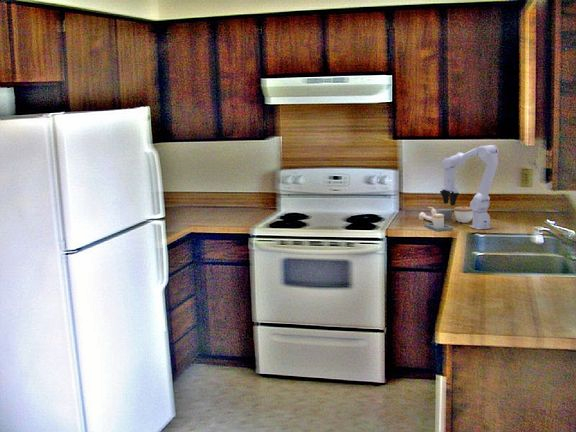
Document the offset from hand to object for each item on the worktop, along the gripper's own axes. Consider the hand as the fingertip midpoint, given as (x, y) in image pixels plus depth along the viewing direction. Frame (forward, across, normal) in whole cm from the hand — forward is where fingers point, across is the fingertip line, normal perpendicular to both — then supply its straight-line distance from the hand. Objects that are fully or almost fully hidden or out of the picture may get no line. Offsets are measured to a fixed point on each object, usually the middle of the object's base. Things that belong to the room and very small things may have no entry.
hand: (449, 204), depth 412 cm
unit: (+10, -9, +1) cm, 14 cm away
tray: (+10, +10, -12) cm, 19 cm away
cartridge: (+10, +10, -12) cm, 18 cm away
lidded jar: (+11, 0, +9) cm, 14 cm away
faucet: (+11, -10, -7) cm, 17 cm away
